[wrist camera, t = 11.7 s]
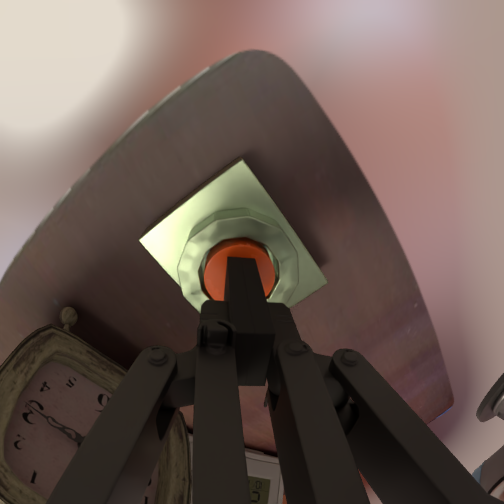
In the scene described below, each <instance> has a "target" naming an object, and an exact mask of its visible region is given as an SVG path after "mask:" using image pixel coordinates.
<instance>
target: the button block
mask: <svg viewBox="0 0 504 504" xmlns="http://www.w3.org/2000/svg"><path fill="white" fill-rule="evenodd" d="M242 237H247V238H249V239H252V240H254V241H257V242H259V243H261V244H263V246H264V247H265V248H266V250H267V251H268V253H269V256H270V258H271V261H272V264H273V266H274V270H275V281H274V285H273V287H272V289H271V291H270V293H269V294H268V295H267V297H266V300H267V302H277V303H284V304H285V305H286V306H287V307H288V308H289V309H290V308H291V307H293V306H294V305H296V304H297V303H299V302H300V301H302V300H303V299H305V298H306V297H308V296H309V295H311V294H312V293H314V292H315V291H317V290H318V289H320V288H321V287H323V286H324V285H326V284H327V283H328V280H327V279H326V277H325V276H324V274H323V273H322V271H321V270H320V268H319V267H318V265H317V264H316V262H315V261H314V259H313V258H312V256H311V255H310V253H309V252H308V250H307V249H306V247H305V246H304V244H303V243H302V241H301V240H300V238H299V237H298V236H297V234H296V233H295V231H294V230H293V228H292V227H291V225H290V224H289V222H288V221H287V220H286V218H285V217H284V215H283V214H282V212H281V211H280V210H279V208H278V207H277V205H276V204H275V202H274V201H273V200H272V198H271V197H270V195H269V194H268V193H267V191H266V190H265V188H264V187H263V186H262V184H261V183H260V181H259V180H258V179H257V177H256V176H255V175H254V173H253V172H252V170H251V169H250V168H249V166H248V165H247V164H246V162H245V161H244V160H243V158H242V157H238V158H237V159H235V160H234V161H233V162H231V163H230V164H229V165H227V166H226V167H224V168H223V169H222V170H220V171H219V172H218V173H216V174H215V175H214V176H212V177H211V178H210V179H208V180H207V181H206V182H204V183H203V184H202V185H200V186H199V187H198V188H196V189H195V190H194V191H192V192H191V193H190V194H189V195H187V196H186V197H185V198H184V199H182V200H181V201H180V202H178V203H177V204H176V205H175V206H173V207H172V208H171V209H170V210H168V211H167V212H166V213H165V214H164V215H162V216H161V217H160V218H159V219H157V220H156V221H155V222H154V223H153V224H151V225H150V226H149V227H148V228H147V229H146V230H145V231H144V233H143V234H142V235H141V237H140V238H139V242H140V243H141V244H142V245H143V246H144V248H145V249H146V250H147V251H148V252H149V253H150V254H151V256H152V257H153V258H154V259H155V260H156V261H157V262H158V263H159V265H160V266H161V267H162V268H163V269H164V270H165V271H166V272H167V273H168V274H169V276H170V277H171V278H172V279H173V280H174V281H175V282H176V283H177V284H178V285H179V286H180V287H181V290H182V294H183V297H184V298H185V299H186V300H187V301H188V302H189V303H190V304H191V305H192V306H193V307H194V308H195V309H196V310H197V311H198V312H199V313H200V314H201V305H202V304H203V303H204V302H205V301H206V300H214V299H213V298H212V297H211V296H210V294H209V293H208V291H207V289H206V287H205V283H204V269H205V261H206V257H207V254H208V252H209V250H210V249H212V248H213V247H214V246H216V245H217V244H219V243H220V242H221V241H223V240H226V239H234V238H242Z"/></svg>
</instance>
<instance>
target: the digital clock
mask: <svg viewBox="0 0 504 504" xmlns="http://www.w3.org/2000/svg"><path fill="white" fill-rule="evenodd" d="M188 435H189V442H190V452H191V473H192V455H193V434H190V433H188ZM245 455H246V463H247V472H248V480H249V488H250V496H251V504H282V499H283V489H284V485H283V480H282V475H281V470H280V464H279V459H278V457H275V456H270V455H265V454H264V452H260V451H256V450H251V449H247V448H245ZM190 504H192V491H191V503H190Z"/></svg>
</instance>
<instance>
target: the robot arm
mask: <svg viewBox="0 0 504 504" xmlns="http://www.w3.org/2000/svg"><path fill="white" fill-rule="evenodd" d="M266 378H267V381H268V389H267V393H266V397H265V402H264V407H267V403H268V406H269V411H270V417H271V422H272V427H273V433H274V438H275V443H276V449H277V454H278V459H279V464H280V470H281V475H282V480H283V485H284V490H285V495H286V500H287V504H370V501H369V499H368V496H367V493H366V490H365V487H364V485H363V482H362V479H361V477H360V474H359V471H360V472H361V474H362V475H363V477H364V478H365V479H366V481H367V482H368V484H369V485H370V486H371V488H372V489H373V491H374V492H375V493H376V495H377V496H378V498H379V499H380V500H381V502H382V503H383V504H504V445H503V446H502V447H501V448H500V449H499V450H498V451H497V452H496V453H494V454H493V455H492V456H491V457H490V458H488V459H487V460H485V461H484V462H483V463H482V465H480V466H479V468H477V469H476V470H475V471H474V472H473V474H472V475H471V474H470V473H469V472H468V471H467V470H466V468H465V467H464V466H463V465H462V464H461V463H460V462H459V461H458V459H457V458H456V457H455V456H454V455H453V454H452V453H451V452H450V451H449V449H448V448H447V447H446V446H445V445H444V444H443V443H442V442H441V441H440V440H439V439H438V437H437V436H436V435H435V434H434V433H433V432H432V431H431V430H430V429H429V427H428V426H427V425H426V424H425V423H424V422H423V421H422V420H421V419H420V418H419V416H418V415H417V414H416V413H415V412H414V411H413V410H412V409H411V408H410V407H409V405H408V404H407V403H406V402H405V401H404V400H403V399H402V398H401V397H400V396H399V395H398V393H397V392H396V391H395V390H394V389H393V388H392V387H391V386H390V385H389V384H388V383H387V382H386V380H385V379H384V378H383V377H382V376H381V375H380V374H379V373H378V372H377V371H376V370H375V369H374V367H373V366H372V365H371V364H370V363H369V362H368V361H367V360H366V359H365V358H364V357H363V356H362V355H361V354H360V353H359V352H357V351H354V350H352V349H339V350H337V351H335V353H334V354H333V356H332V357H330V356H324V355H319V354H316V353H314V352H313V351H312V349H311V347H310V346H309V345H308V344H307V343H305V342H304V341H301V338H300V336H299V333H298V330H297V328H296V325H295V323H294V320H293V317H292V314H291V312H290V309H289V308H288V307H287V306H286V305H285V304H284V303H277V302H267V300H266V296H265V292H264V289H263V285H262V281H261V278H260V274H259V271H258V267H257V263H256V260H255V258H242V257H228V256H227V266H226V277H225V289H224V301H219V300H206V301H205V302H204V303H203V304H202V305H201V314H200V324H199V327H198V331H197V345H196V346H195V347H194V348H193V349H192V350H190V351H188V352H184V353H179V354H175V352H174V351H173V350H171V349H170V348H168V347H165V346H158V345H157V346H150V347H148V348H145V349H144V350H143V351H142V352H141V353H140V354H139V355H138V357H137V358H136V360H135V361H134V363H133V364H132V366H131V367H130V369H129V370H128V372H127V373H126V375H125V376H124V378H123V379H122V381H121V382H120V384H119V385H118V387H117V388H116V390H115V392H114V393H113V395H112V396H111V398H110V399H109V401H108V402H107V404H106V405H105V407H104V408H103V410H102V412H101V413H100V415H99V416H98V418H97V419H96V421H95V423H94V424H93V426H92V427H91V429H90V430H89V432H88V434H87V435H86V437H85V438H84V440H83V442H82V443H81V445H80V447H79V448H78V450H77V451H76V453H75V455H74V456H73V458H72V460H71V461H70V463H69V465H68V466H67V468H66V470H65V471H64V473H63V475H62V476H61V478H60V480H59V481H58V483H57V485H56V486H55V488H54V490H53V492H52V493H51V495H50V497H49V499H48V500H47V502H46V504H140V503H141V500H142V498H143V495H144V493H145V491H146V488H147V486H148V483H149V481H150V479H151V476H152V474H153V471H154V469H155V467H156V464H157V462H158V459H159V457H160V455H161V452H162V450H163V447H164V445H165V443H166V440H167V438H168V435H169V433H170V431H171V428H172V426H173V424H174V421H175V419H176V416H177V414H178V412H179V409H180V407H183V406H188V405H193V404H194V419H193V455H192V504H251V496H250V488H249V480H248V472H247V463H246V455H245V446H244V437H243V428H242V419H241V409H240V400H239V390H238V386H265V383H266ZM350 397H351V399H352V400H353V401H354V402H353V401H352V400H351V399H350ZM492 411H493V413H494V414H495V415H496V416H498V417H499V418H501V419H503V420H504V389H503V391H502V392H501V393H500V395H499V396H498V397H497V399H496V400H495V402H494V404H493V406H492ZM358 469H359V471H358Z"/></svg>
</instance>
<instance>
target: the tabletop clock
mask: <svg viewBox="0 0 504 504" xmlns="http://www.w3.org/2000/svg"><path fill="white" fill-rule="evenodd" d="M59 317H60V320H61V322H62V323H63V324H64V328H63V329H62V328H60V327H58V326H55V325H53V324H49V325H47V326H44V327H42V328H39V329H37V330H35V331H34V332H33V333H31V334H30V335H29V336H28V337H26V338H25V339H24V340H23V341H22V342H21V343H20V344H19V345H18V346H17V347H16V348H15V350H14V351H13V352H12V353H11V354H10V355H9V357H8V358H7V359H6V360H5V361H4V363H3V364H2V365H1V366H0V504H46V502H47V500H48V499H49V497H50V495H51V493H52V492H53V490H54V488H55V486H56V485H57V483H58V481H59V480H60V478H61V476H62V475H63V473H64V471H65V470H66V468H67V466H68V465H69V463H70V461H71V460H72V458H73V456H74V455H75V453H76V451H77V450H78V448H79V447H80V445H81V443H82V442H83V440H84V438H85V437H86V435H87V434H88V432H89V430H90V429H91V427H92V426H93V424H94V423H95V421H96V419H97V418H98V416H99V415H100V413H101V412H102V410H103V408H104V407H105V405H106V404H107V402H108V401H109V399H110V398H111V396H112V395H113V393H114V392H115V390H116V388H117V387H118V385H119V384H120V382H121V381H122V379H123V378H124V376H125V375H126V373H127V372H128V370H127V369H125V368H124V367H123V366H121V365H120V364H118V363H117V362H115V361H114V360H112V359H110V358H109V357H107V356H106V355H104V354H103V353H101V352H100V351H98V350H97V349H95V348H94V347H92V346H91V345H89V344H88V343H86V342H85V341H83V340H82V339H81V338H79V337H78V336H76V335H74V334H72V333H71V332H70V326H73V325H74V324H75V323H76V321H77V318H78V316H77V313H76V311H75V310H74V309H73V308H71V307H64V308H63V309H62V310H61V312H60V316H59ZM191 491H192V473H191V452H190V442H189V435H188V429H187V426H186V423H185V419H184V416H183V414H182V413H181V412H180V411H179V412H178V414H177V416H176V419H175V421H174V424H173V426H172V428H171V431H170V433H169V435H168V438H167V440H166V443H165V445H164V447H163V450H162V452H161V455H160V457H159V459H158V462H157V464H156V467H155V469H154V471H153V474H152V476H151V479H150V481H149V483H148V486H147V488H146V491H145V493H144V495H143V498H142V500H141V503H140V504H190V503H191Z"/></svg>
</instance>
